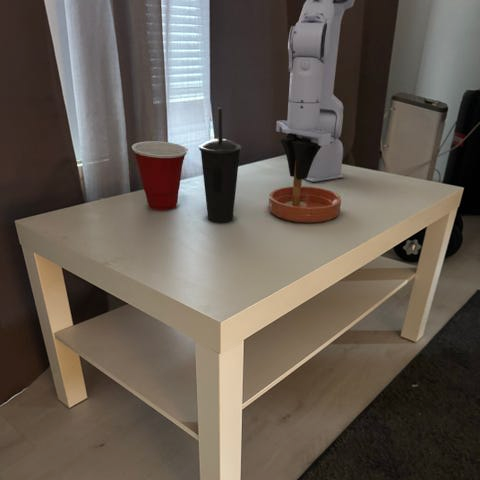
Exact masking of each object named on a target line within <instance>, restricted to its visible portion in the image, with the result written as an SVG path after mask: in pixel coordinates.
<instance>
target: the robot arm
mask: <svg viewBox="0 0 480 480" xmlns="http://www.w3.org/2000/svg"><path fill="white" fill-rule="evenodd" d="M355 1H356V0H306V1H305V2H304V3H303V6H302V10H301V12H300V14H299V17H298V18H299V19H298V22H296V23H295V25H292V26H290V30H289V34H288V42H287V51H288V72H290V75H289V90H288V105H287V118H286V119H283V120H276V129H275V131H276V132H277V133H284V134H287V135H286V137H281V138H280V143H281V145H282V147H283V150H284V152H285V156H286V160H287V165H288V171H289V176H290V177H291V178H294V168H295V161H296V179H298V180H300V179H302V180H306V181H308V182H311V183H317V182H323V181H329V180H336V179H342V178H343V175H342V174H341V173H342V167H343V159H344V158H343V157H344V146H343V143H342V141H341V140H340V139H339V138H340V137H341V134H342V129H343V123H344V122H343V121H344V105H343V102H342V101H341V100H340V99H338V97H337V96H335V94H334V89H335V80H336V79H335V78H336V69H337V60H338V51H339V43H340V34H341V33H340V32H341V25H342V19H343V15H344V14H345V11H346V10H348V9H351V8H352V7H354V4H355Z"/></svg>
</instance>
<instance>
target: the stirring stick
mask: <svg viewBox="0 0 480 480" xmlns="http://www.w3.org/2000/svg"><path fill="white" fill-rule="evenodd" d="M302 182H303V179H300V180H298V179H296V161H295V168H294V177H293V183H292V187H293V194H292V201H289V202H286V203H285V204H286V205H290V206H296V207H307V205H306V204H305V203H303V202H300V196H301V186H302V185H303V184H302Z"/></svg>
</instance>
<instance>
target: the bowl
mask: <svg viewBox="0 0 480 480" xmlns="http://www.w3.org/2000/svg"><path fill="white" fill-rule="evenodd" d="M292 194H293V186H285V187H280V188H277V189H274V190H272V191H271V192H270V193H269V196H268V210H269V211H270V213H271V214H273V215H274V216H277V217H279V218H280V219H282V220H285V221H289V222H294V223H304V224H305V223H306V224H307V223H310V224H311V223H321V222H326V221H328V220H331V219H333V218H336V217H338V215H339V214H340V212H341V204H342V198H341V196H340V195H339V194H338V193H337V192H334V191H332V190H330V189H325V188H322V187H321V188H320V187H315V186H306V185H305V186H303V185H301V196H300V202H303V203H305V204H306V205H307V207H296V206H290V205H286V204H285V203H286V202H289V201H292Z"/></svg>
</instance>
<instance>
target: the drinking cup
mask: <svg viewBox="0 0 480 480" xmlns="http://www.w3.org/2000/svg"><path fill="white" fill-rule="evenodd" d="M217 120H218V121H217V122H218V125H217V126H218V128H217V130H218V131H217V133H218V135H217V138H213V139H210V140H207V141H205V142H204V143H201V144H200V145H199V146H198V150H199V151H200V155H201V156H200V157H201V165H202V167H201V168H202V174H203V175H202V176H203V183H204V184H203V185H204V194H205V201H206V202H205V203H206V212H207V220H208V221H209V222H211V223H214V224H226V223H230V222H232V221H233V220H234V212H235V211H234V210H235V200H236V192H237V182H238V172H239V164H240V154H241V153H240V152H241V151H242V145H241V144H239V143H236V142H235V141H233V140H230V139H226V138H223V108H222V107H218V108H217Z"/></svg>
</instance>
